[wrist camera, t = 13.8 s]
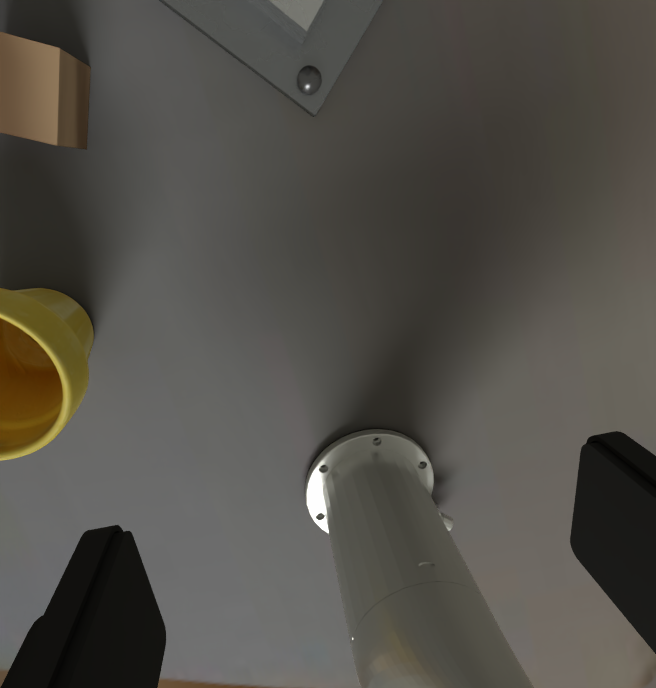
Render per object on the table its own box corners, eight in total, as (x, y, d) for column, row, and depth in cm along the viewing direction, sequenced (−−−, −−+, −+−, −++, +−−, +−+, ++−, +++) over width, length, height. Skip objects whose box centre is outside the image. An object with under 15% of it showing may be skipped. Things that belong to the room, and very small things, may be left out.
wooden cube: (91, 67, 29) (59, 48, 25) (86, 149, 31) (56, 145, 26) (4, 44, 28) (-45, 19, 23) (5, 130, 30) (-41, 122, 25)
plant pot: (-11, 393, 36) (-102, 469, 27) (-46, 263, 32) (-166, 300, 23) (127, 388, 37) (84, 458, 28) (108, 263, 33) (53, 297, 24)
